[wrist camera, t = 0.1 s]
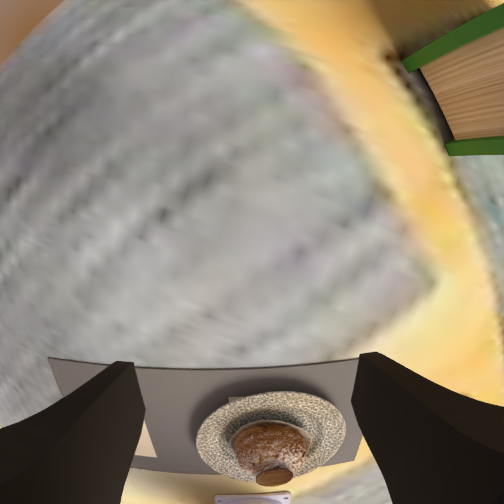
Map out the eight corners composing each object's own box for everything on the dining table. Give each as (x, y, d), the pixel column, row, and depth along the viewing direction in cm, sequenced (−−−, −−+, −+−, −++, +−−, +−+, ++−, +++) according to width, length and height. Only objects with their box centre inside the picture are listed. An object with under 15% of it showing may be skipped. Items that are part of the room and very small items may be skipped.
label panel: (353, 458, 23) (354, 460, 23) (94, 458, 22) (93, 460, 22) (381, 353, 20) (383, 355, 20) (49, 356, 19) (47, 358, 19)
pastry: (271, 353, 19) (280, 397, 15) (368, 421, 22) (386, 458, 17) (168, 437, 21) (159, 478, 16) (270, 486, 23) (275, 521, 19)
